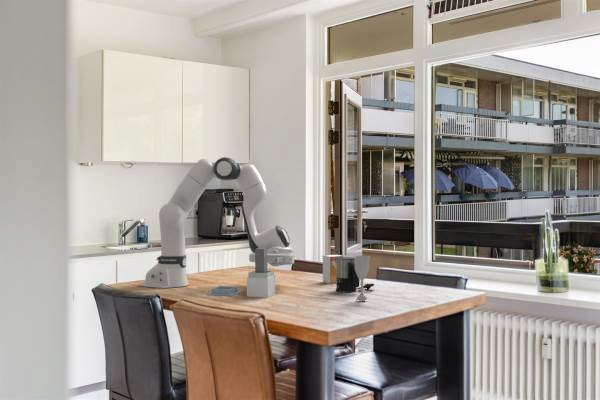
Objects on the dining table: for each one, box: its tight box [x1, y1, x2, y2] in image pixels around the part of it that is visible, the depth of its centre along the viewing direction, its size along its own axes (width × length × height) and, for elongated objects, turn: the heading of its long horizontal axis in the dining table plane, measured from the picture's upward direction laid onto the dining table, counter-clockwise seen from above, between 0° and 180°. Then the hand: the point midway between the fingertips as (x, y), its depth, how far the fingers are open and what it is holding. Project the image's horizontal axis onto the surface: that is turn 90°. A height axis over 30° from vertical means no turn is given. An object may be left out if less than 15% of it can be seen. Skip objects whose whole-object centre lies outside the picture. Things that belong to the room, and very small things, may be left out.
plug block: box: [254, 248, 268, 273], centre depth 269 cm, size 4×4×12 cm
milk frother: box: [335, 256, 375, 293], centre depth 280 cm, size 14×16×15 cm
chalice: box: [353, 255, 371, 301], centre depth 254 cm, size 7×7×18 cm
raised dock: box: [246, 269, 276, 298], centre depth 269 cm, size 10×10×10 cm
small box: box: [322, 254, 344, 284], centre depth 305 cm, size 8×6×13 cm
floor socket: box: [205, 285, 243, 297], centre depth 274 cm, size 12×12×2 cm
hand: (266, 259), depth 275 cm, fingers open, 8 cm apart
